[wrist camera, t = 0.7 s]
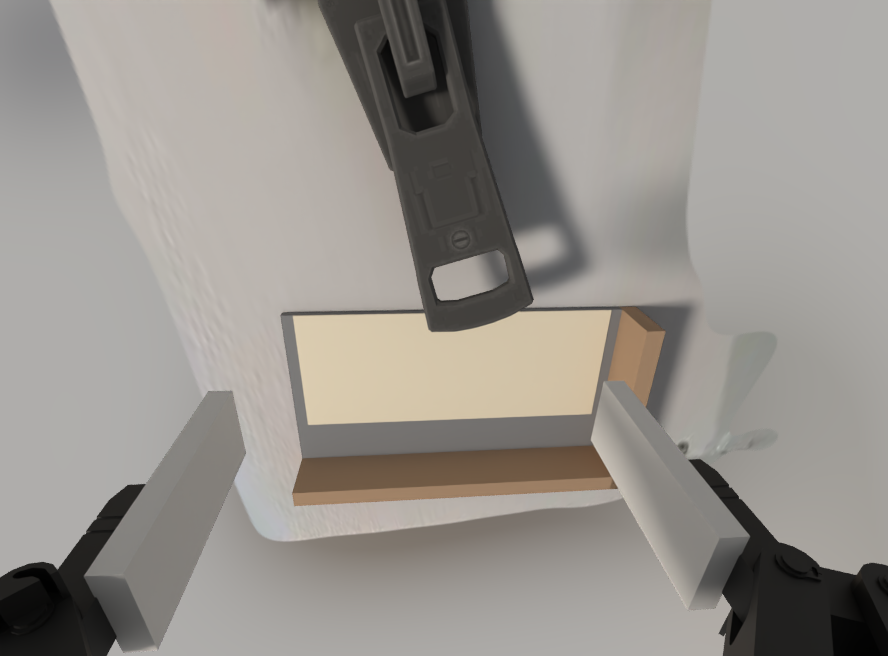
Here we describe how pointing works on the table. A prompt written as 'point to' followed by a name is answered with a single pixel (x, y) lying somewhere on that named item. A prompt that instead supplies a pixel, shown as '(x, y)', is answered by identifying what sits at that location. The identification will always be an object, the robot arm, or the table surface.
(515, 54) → the table surface
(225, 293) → the table surface
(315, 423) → the tray
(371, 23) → the zipper pull
